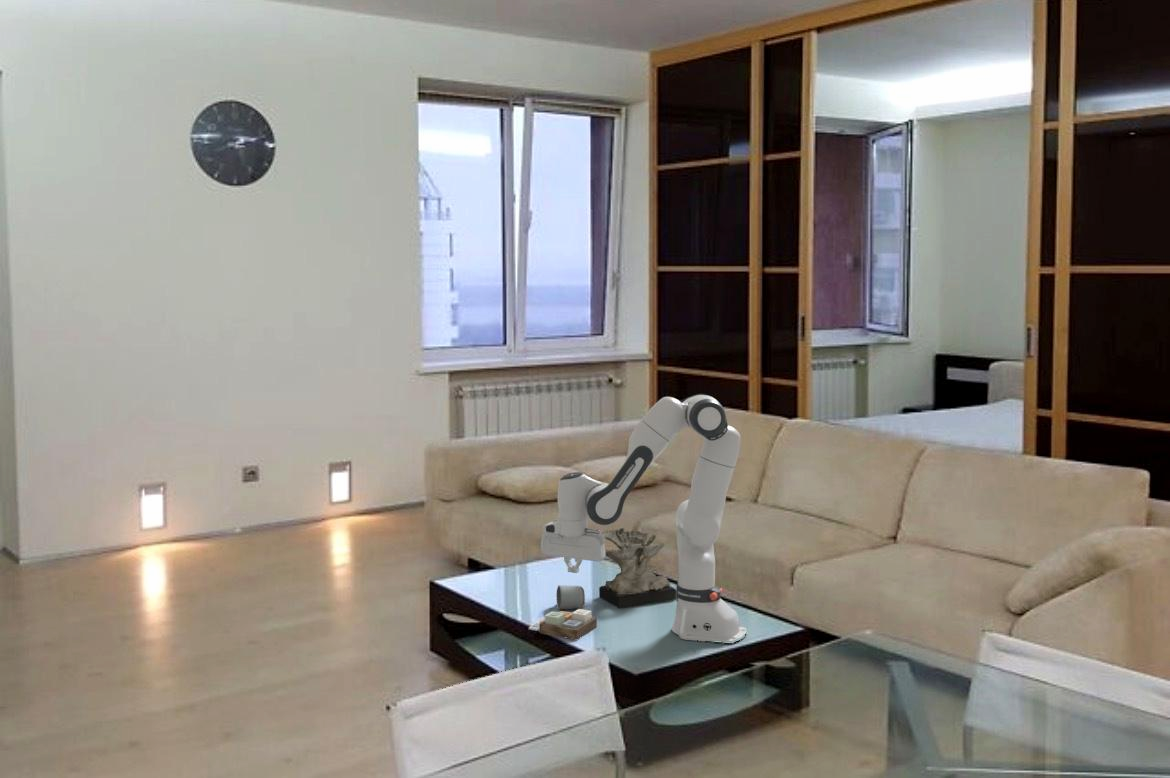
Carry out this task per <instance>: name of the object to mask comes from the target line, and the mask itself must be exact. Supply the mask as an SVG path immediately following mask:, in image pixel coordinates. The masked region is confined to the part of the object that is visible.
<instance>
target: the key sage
mask: <svg viewBox="0 0 1170 778" xmlns="http://www.w3.org/2000/svg"><path fill="white" fill-rule="evenodd" d="M558 612H559V611H553V610H552V611H550V612H549V613H547V614H545V615H544V618H545V624H551V625H556V626H559V625H561V624H562V623H564V622H565V614H564V613H558Z"/></svg>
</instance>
